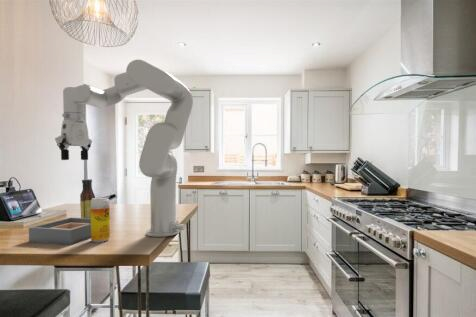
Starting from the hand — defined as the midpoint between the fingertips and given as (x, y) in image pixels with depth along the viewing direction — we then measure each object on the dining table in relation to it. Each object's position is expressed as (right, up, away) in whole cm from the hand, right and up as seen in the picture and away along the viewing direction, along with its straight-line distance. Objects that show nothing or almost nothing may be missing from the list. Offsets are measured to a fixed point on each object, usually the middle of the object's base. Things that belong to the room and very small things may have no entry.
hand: (75, 159), depth 117 cm
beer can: (+18, -29, -16) cm, 37 cm away
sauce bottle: (-2, -29, +15) cm, 33 cm away
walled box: (+4, -29, -10) cm, 31 cm away
